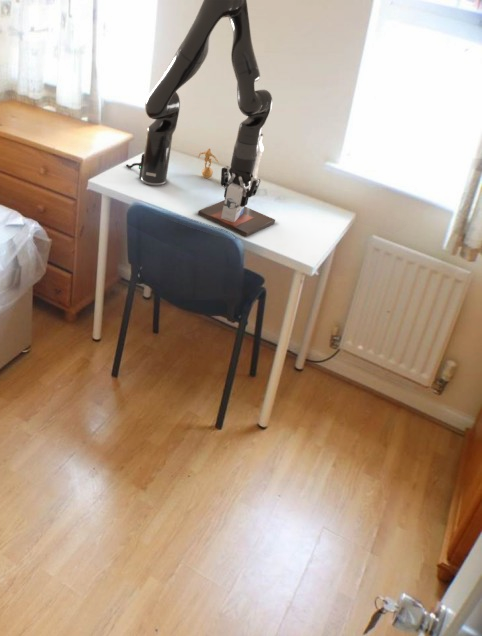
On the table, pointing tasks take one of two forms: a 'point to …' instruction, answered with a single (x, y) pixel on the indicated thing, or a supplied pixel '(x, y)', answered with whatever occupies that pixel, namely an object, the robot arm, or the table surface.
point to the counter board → (244, 224)
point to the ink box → (233, 203)
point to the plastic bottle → (258, 158)
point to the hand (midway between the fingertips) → (235, 202)
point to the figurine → (206, 171)
